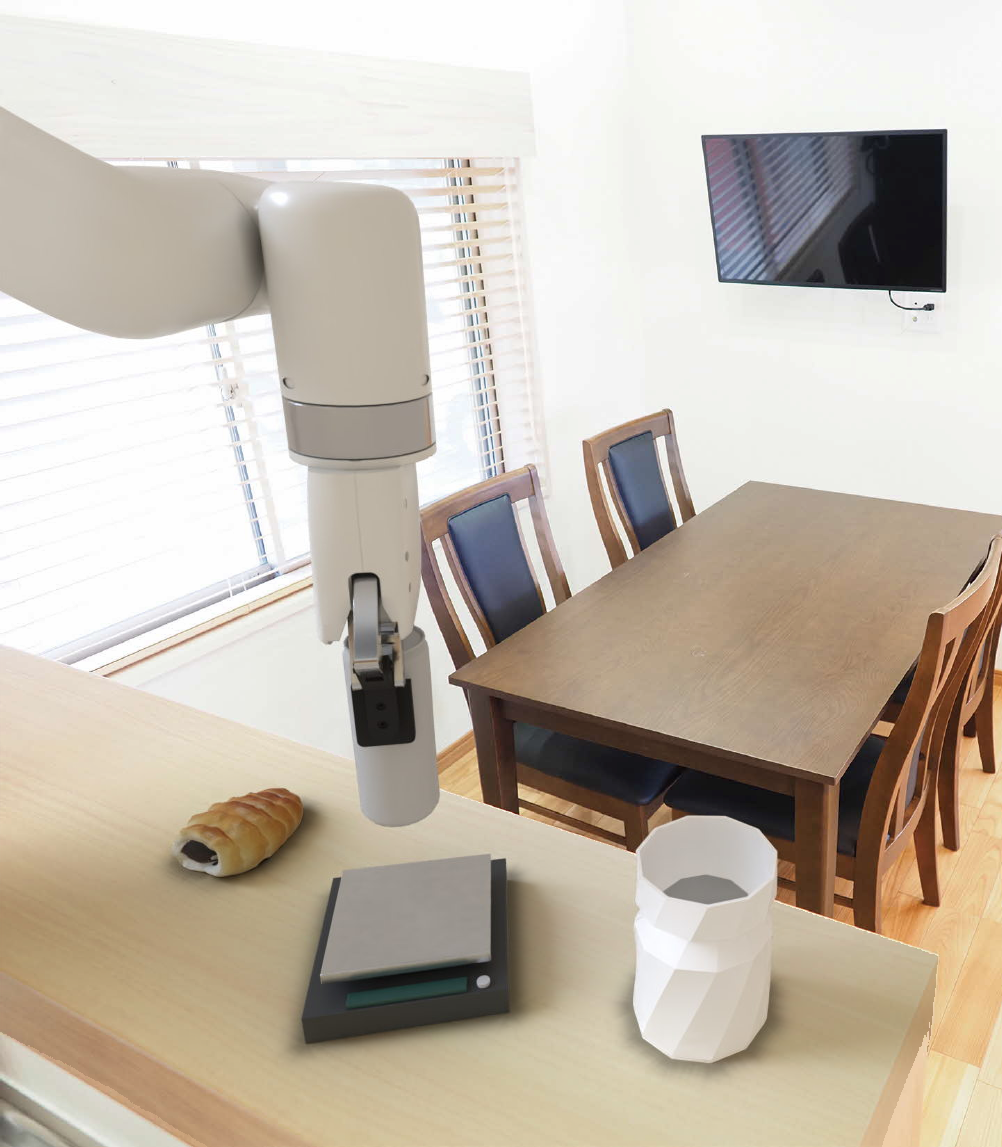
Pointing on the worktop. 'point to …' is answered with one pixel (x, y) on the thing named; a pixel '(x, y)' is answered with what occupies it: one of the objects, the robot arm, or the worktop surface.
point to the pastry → (238, 832)
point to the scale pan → (410, 919)
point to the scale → (411, 985)
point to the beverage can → (400, 748)
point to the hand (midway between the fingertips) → (391, 715)
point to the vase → (703, 936)
